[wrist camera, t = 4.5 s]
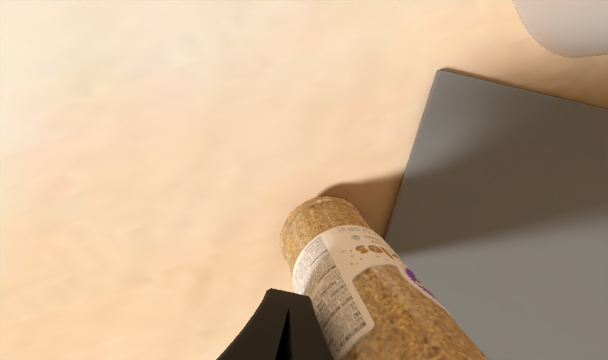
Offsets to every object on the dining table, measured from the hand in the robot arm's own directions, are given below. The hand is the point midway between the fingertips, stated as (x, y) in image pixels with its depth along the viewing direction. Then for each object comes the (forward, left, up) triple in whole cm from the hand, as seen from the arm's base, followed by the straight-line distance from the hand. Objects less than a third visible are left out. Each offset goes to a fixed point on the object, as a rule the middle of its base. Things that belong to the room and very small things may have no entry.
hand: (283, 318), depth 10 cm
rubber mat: (0, -14, -7) cm, 16 cm away
